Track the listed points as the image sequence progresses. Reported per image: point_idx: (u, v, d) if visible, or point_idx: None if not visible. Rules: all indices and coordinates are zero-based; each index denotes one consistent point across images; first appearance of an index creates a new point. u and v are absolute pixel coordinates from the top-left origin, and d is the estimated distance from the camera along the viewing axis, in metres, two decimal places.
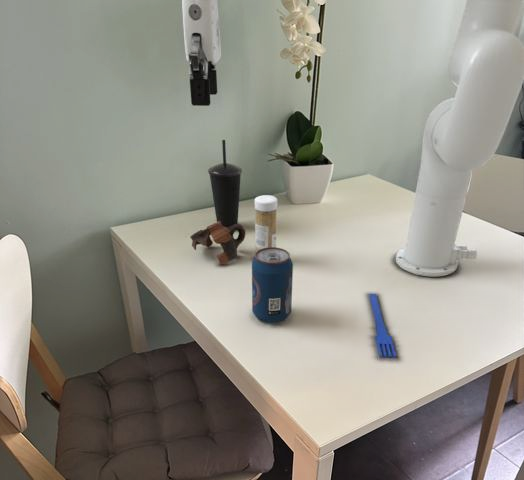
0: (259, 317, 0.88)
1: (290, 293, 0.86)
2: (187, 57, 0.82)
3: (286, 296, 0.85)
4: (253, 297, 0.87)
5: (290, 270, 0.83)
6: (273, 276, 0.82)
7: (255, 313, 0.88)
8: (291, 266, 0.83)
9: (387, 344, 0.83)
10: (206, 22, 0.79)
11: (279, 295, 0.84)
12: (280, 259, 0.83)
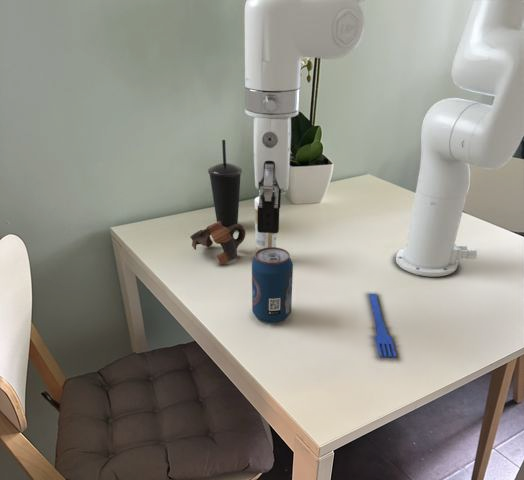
0: (259, 317, 0.88)
1: (290, 293, 0.86)
2: (256, 184, 0.72)
3: (286, 296, 0.85)
4: (253, 297, 0.87)
5: (290, 270, 0.83)
6: (273, 276, 0.82)
7: (255, 313, 0.88)
8: (291, 266, 0.83)
9: (387, 344, 0.83)
10: (282, 150, 0.69)
11: (279, 295, 0.84)
12: (280, 259, 0.83)
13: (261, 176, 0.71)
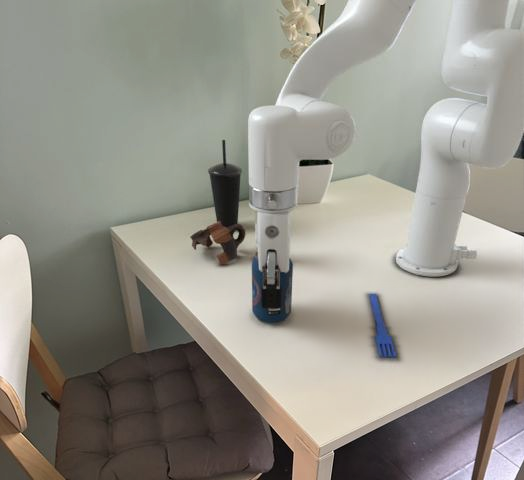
0: (259, 317, 0.88)
1: (290, 293, 0.86)
2: (260, 268, 0.80)
3: (286, 296, 0.85)
4: (253, 297, 0.87)
5: (290, 270, 0.83)
6: None
7: (255, 313, 0.88)
8: (291, 266, 0.83)
9: (387, 344, 0.83)
10: (283, 240, 0.77)
11: None
12: None
13: (264, 265, 0.79)
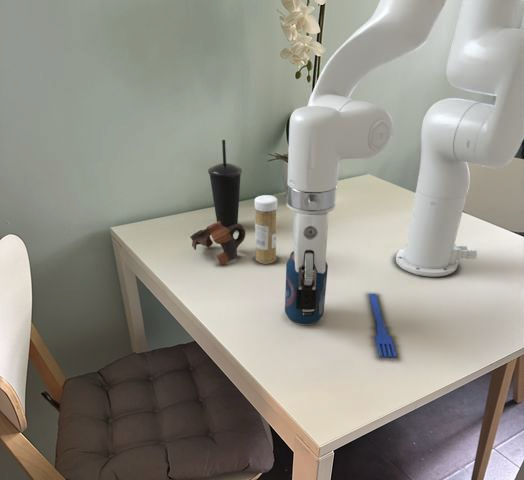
0: (292, 318, 0.88)
1: (324, 294, 0.86)
2: (297, 269, 0.80)
3: (321, 297, 0.85)
4: (287, 298, 0.87)
5: (325, 271, 0.83)
6: None
7: (288, 314, 0.88)
8: (326, 267, 0.83)
9: (387, 344, 0.83)
10: (321, 241, 0.76)
11: None
12: None
13: (301, 266, 0.79)
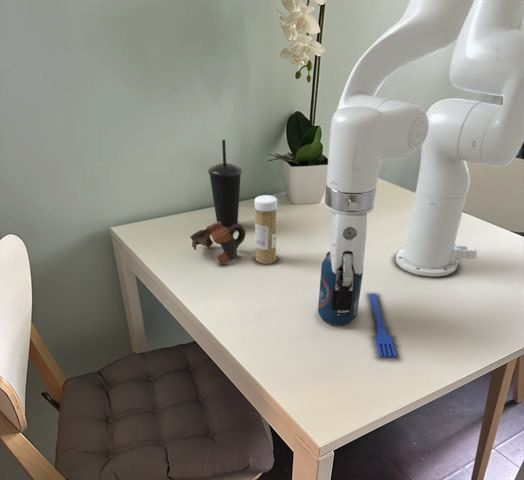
0: (326, 319, 0.87)
1: (359, 295, 0.86)
2: (334, 270, 0.79)
3: (356, 298, 0.85)
4: (321, 299, 0.86)
5: None
6: None
7: (322, 315, 0.88)
8: None
9: (387, 344, 0.83)
10: (360, 242, 0.76)
11: None
12: None
13: None
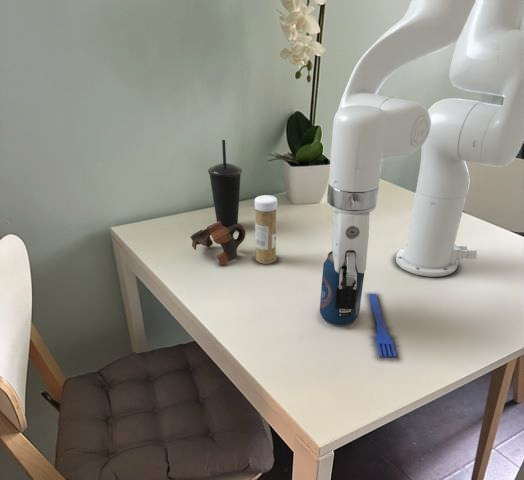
0: (328, 319, 0.87)
1: (360, 295, 0.86)
2: (337, 269, 0.79)
3: (357, 298, 0.85)
4: (323, 299, 0.86)
5: None
6: None
7: (324, 315, 0.88)
8: None
9: (387, 344, 0.83)
10: (363, 241, 0.76)
11: None
12: None
13: (342, 262, 0.78)
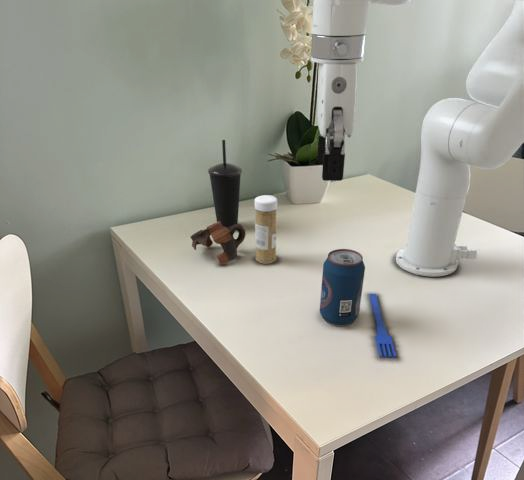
0: (328, 319, 0.87)
1: (360, 295, 0.86)
2: (323, 131, 0.75)
3: (357, 298, 0.85)
4: (323, 299, 0.86)
5: (363, 272, 0.83)
6: (347, 278, 0.82)
7: (324, 315, 0.88)
8: (363, 268, 0.83)
9: (387, 344, 0.83)
10: (350, 95, 0.71)
11: (351, 297, 0.84)
12: (353, 261, 0.83)
13: (329, 123, 0.74)
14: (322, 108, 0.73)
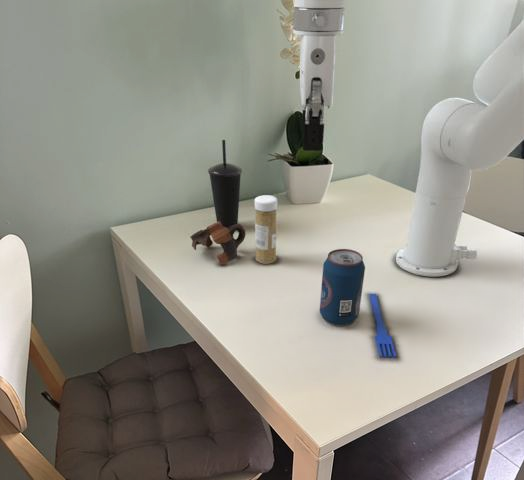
0: (328, 319, 0.87)
1: (360, 295, 0.86)
2: (303, 102, 0.78)
3: (357, 298, 0.85)
4: (323, 299, 0.86)
5: (363, 272, 0.83)
6: (347, 278, 0.82)
7: (324, 315, 0.88)
8: (363, 268, 0.83)
9: (387, 344, 0.83)
10: (328, 66, 0.75)
11: (351, 297, 0.84)
12: (353, 261, 0.83)
13: (308, 93, 0.77)
14: (302, 79, 0.76)
